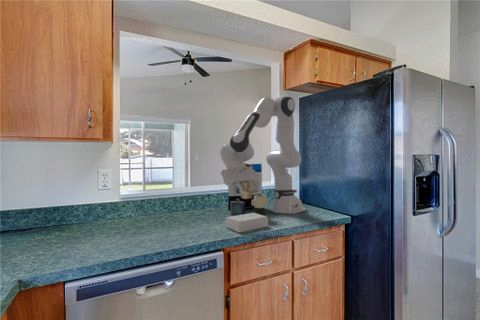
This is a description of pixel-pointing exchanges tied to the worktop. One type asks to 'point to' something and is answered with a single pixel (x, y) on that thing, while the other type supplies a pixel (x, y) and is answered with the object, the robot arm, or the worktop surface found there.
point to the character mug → (260, 204)
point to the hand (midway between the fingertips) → (247, 189)
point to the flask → (237, 208)
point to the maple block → (246, 190)
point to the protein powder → (257, 190)
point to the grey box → (246, 222)
